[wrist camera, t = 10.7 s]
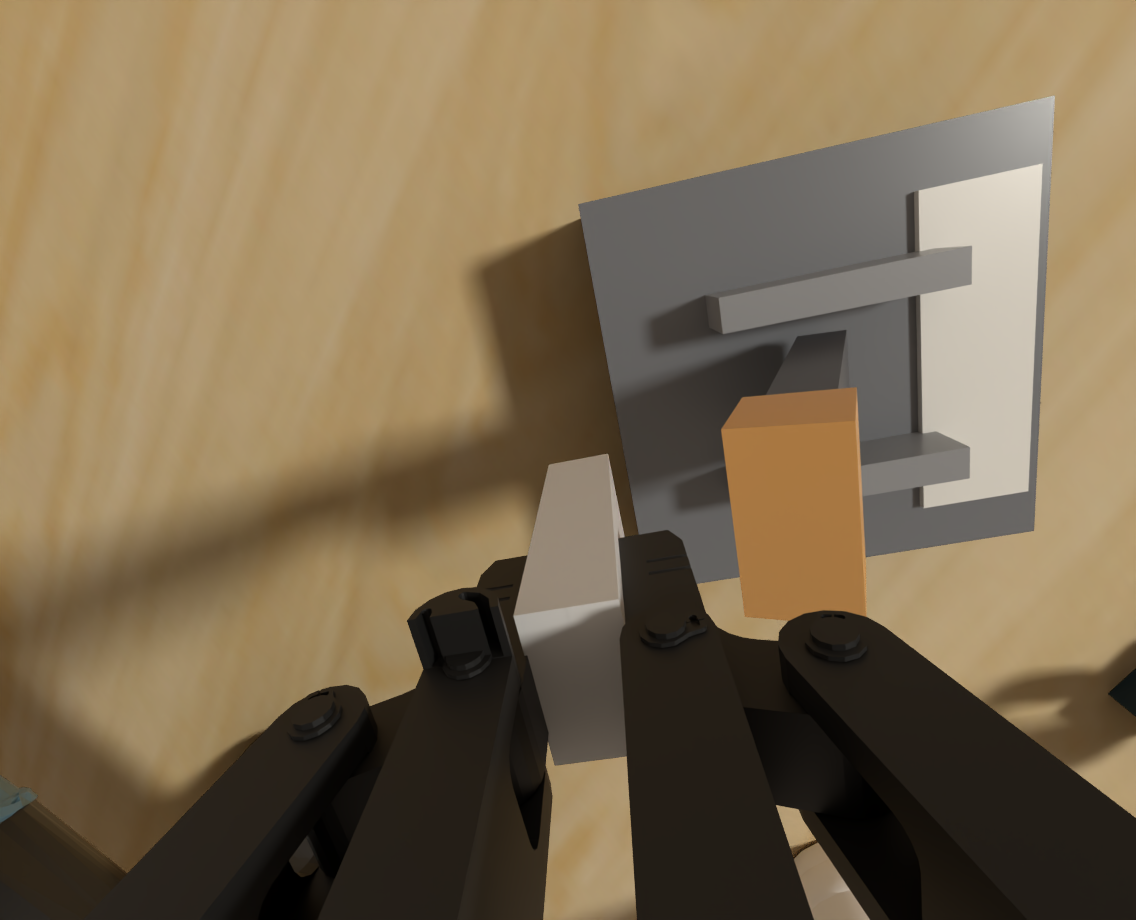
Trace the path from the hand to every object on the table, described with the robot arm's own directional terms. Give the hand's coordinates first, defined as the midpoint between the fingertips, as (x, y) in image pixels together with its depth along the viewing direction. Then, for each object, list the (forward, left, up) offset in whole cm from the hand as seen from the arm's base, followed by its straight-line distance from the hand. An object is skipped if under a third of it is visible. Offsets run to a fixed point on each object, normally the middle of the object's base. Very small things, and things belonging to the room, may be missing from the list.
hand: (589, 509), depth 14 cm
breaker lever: (+9, 0, -9) cm, 13 cm away
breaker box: (+9, 0, -15) cm, 17 cm away
